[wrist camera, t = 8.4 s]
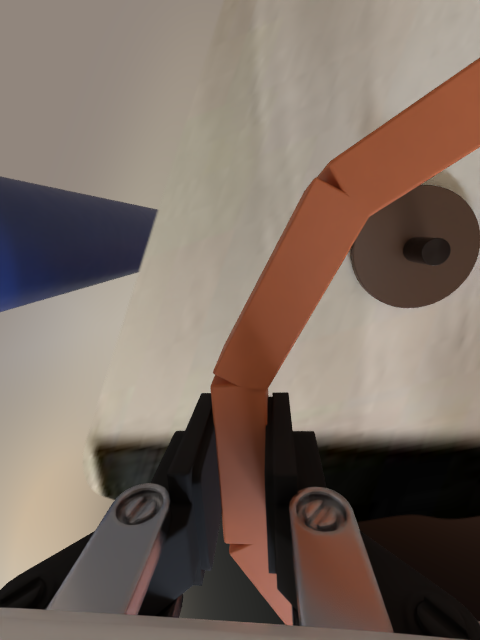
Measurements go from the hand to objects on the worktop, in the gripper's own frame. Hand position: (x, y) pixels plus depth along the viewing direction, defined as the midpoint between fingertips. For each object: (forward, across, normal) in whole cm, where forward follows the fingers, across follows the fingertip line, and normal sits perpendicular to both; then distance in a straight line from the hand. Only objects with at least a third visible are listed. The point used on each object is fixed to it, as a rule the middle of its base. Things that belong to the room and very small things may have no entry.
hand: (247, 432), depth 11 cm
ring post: (+17, -12, -5) cm, 21 cm away
